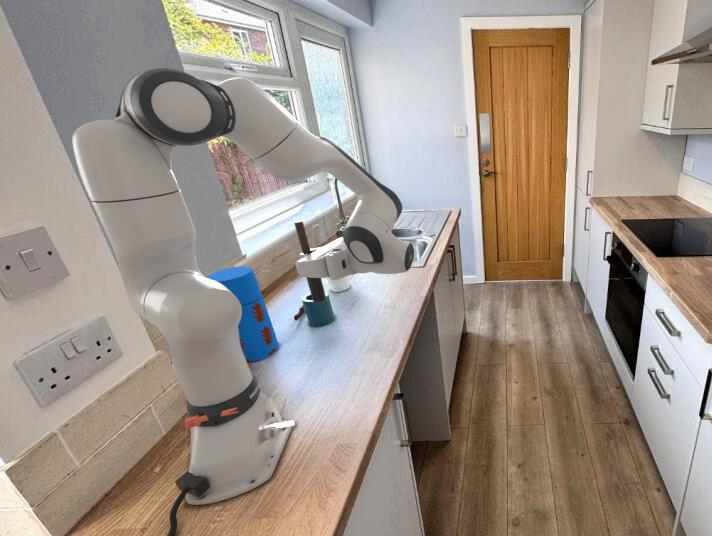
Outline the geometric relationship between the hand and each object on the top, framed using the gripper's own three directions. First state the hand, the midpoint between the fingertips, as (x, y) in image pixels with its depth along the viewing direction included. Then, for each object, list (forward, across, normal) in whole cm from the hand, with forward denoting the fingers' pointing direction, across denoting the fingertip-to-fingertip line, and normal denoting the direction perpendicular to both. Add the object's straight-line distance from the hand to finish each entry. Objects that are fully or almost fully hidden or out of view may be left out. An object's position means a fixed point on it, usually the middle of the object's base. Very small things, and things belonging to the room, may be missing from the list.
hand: (304, 254), depth 105 cm
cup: (+22, -41, +30) cm, 55 cm away
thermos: (+22, +3, +30) cm, 37 cm away
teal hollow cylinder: (+14, -16, +30) cm, 37 cm away
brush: (-1, 0, +13) cm, 13 cm away
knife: (+24, -22, +30) cm, 44 cm away
